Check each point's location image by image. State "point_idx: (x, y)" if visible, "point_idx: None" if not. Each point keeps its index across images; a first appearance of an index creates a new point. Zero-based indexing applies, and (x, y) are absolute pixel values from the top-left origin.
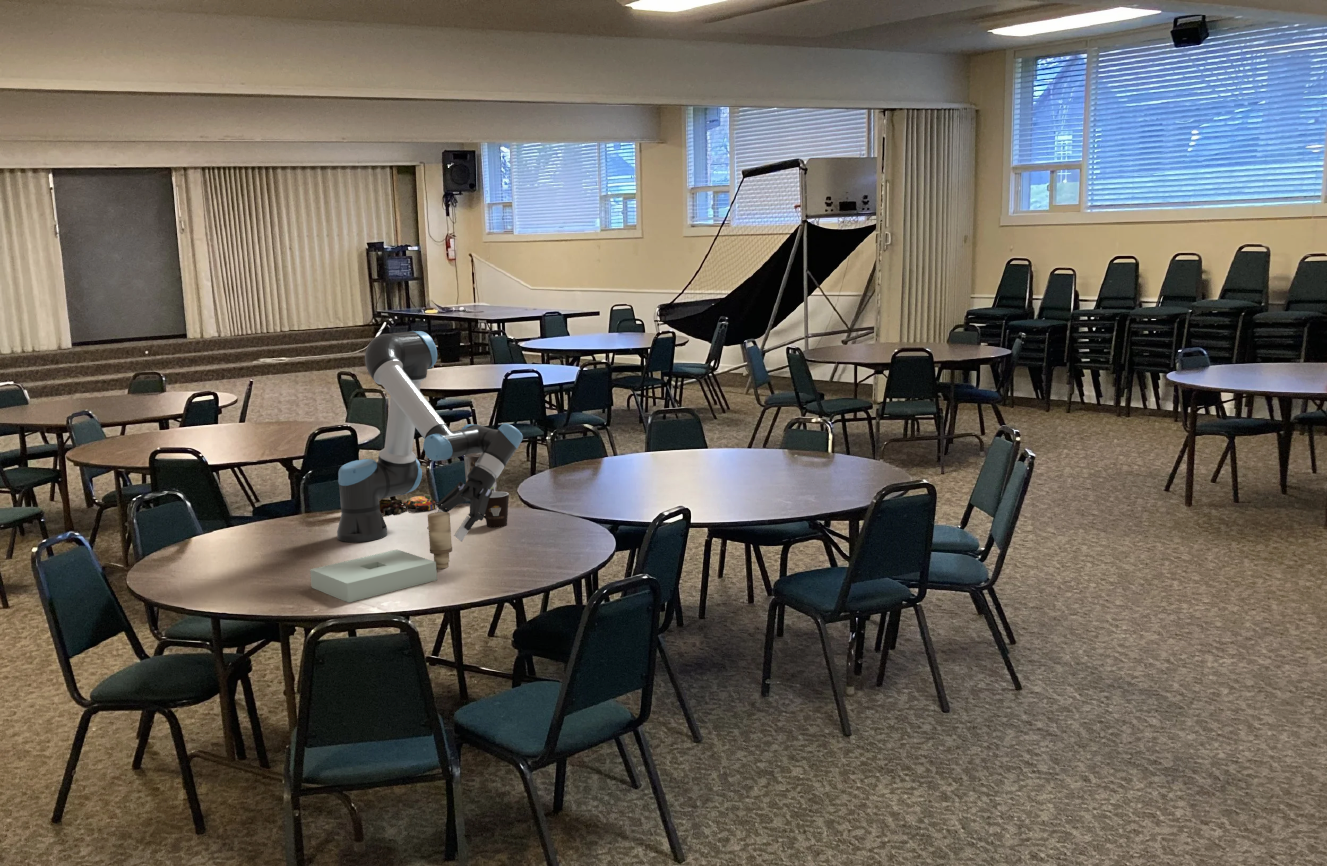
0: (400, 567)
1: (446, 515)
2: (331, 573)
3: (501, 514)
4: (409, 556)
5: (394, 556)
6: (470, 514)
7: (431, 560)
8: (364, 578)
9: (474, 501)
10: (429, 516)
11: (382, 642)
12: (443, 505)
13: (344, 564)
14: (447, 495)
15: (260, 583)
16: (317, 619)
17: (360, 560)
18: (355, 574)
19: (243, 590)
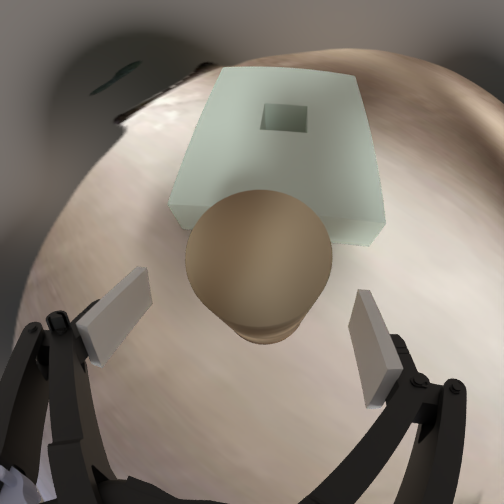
0: (214, 136)
1: (186, 259)
2: (300, 74)
3: None
4: None
5: (319, 175)
6: (51, 314)
7: (188, 205)
8: (219, 83)
9: (55, 424)
10: (265, 190)
11: (97, 88)
12: (402, 398)
13: (342, 102)
14: (450, 464)
15: (417, 96)
16: (207, 64)
17: (349, 125)
18: (256, 83)
19: (396, 77)
